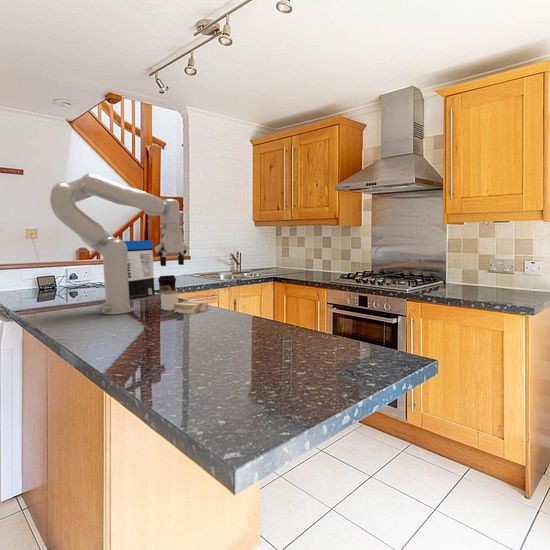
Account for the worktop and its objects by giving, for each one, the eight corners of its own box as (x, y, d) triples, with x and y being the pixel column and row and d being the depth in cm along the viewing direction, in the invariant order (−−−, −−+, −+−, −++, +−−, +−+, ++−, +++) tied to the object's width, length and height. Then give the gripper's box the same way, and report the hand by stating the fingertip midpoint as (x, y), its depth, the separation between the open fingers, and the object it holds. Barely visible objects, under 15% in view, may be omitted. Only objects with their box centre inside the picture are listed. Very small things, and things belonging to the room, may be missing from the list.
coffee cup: (172, 303, 197) (170, 276, 196) (155, 303, 199) (154, 276, 198) (179, 300, 206) (178, 274, 204) (164, 300, 207) (163, 274, 206)
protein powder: (160, 294, 229) (157, 240, 226) (123, 301, 208) (120, 241, 205) (148, 293, 234) (146, 240, 231) (111, 299, 213) (108, 241, 210)
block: (192, 315, 169) (191, 305, 169) (174, 313, 174) (174, 303, 174) (208, 311, 178) (207, 301, 177) (190, 309, 183) (190, 300, 182)
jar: (170, 310, 179) (169, 292, 178) (161, 309, 181) (160, 292, 181) (178, 308, 183) (178, 291, 182) (170, 307, 186) (169, 290, 185)
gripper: (159, 226, 176) (161, 266, 178) (191, 227, 190) (192, 264, 191) (149, 227, 181) (151, 266, 183) (181, 227, 195) (182, 264, 196)
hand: (172, 265), depth 187 cm, fingers open, 9 cm apart
